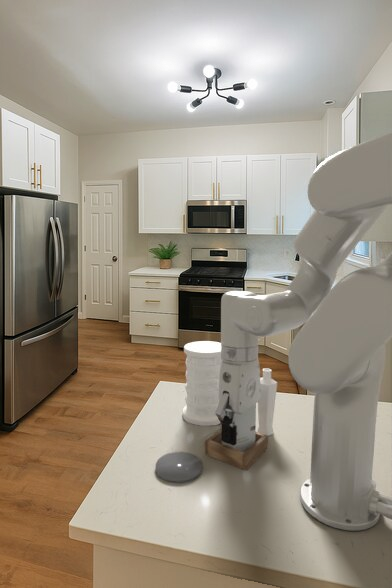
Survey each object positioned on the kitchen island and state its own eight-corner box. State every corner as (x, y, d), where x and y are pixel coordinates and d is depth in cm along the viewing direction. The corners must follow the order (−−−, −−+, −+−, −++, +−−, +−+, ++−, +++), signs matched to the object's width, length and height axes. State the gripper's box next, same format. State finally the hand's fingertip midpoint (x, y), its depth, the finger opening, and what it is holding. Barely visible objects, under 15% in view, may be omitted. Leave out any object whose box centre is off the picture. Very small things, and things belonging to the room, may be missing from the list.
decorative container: (176, 422, 93) (176, 351, 90) (189, 403, 104) (189, 339, 101) (223, 428, 90) (225, 354, 87) (231, 408, 101) (232, 342, 99)
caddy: (267, 448, 81) (268, 435, 81) (245, 470, 73) (246, 455, 73) (229, 435, 87) (229, 422, 86) (205, 453, 79) (205, 440, 79)
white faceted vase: (251, 428, 90) (252, 367, 88) (267, 426, 91) (269, 365, 89) (260, 438, 85) (262, 374, 83) (277, 435, 87) (279, 372, 85)
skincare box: (233, 461, 76) (234, 403, 75) (220, 451, 80) (220, 396, 78) (256, 452, 79) (257, 396, 78) (242, 442, 83) (243, 389, 82)
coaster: (211, 465, 75) (211, 461, 75) (182, 489, 68) (182, 484, 68) (175, 450, 80) (175, 447, 80) (145, 471, 73) (145, 467, 73)
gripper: (233, 366, 68) (232, 460, 70) (274, 345, 82) (272, 424, 84) (199, 359, 72) (199, 447, 74) (243, 341, 86) (243, 415, 88)
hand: (238, 434), depth 79 cm, fingers closed on skincare box, 7 cm apart
